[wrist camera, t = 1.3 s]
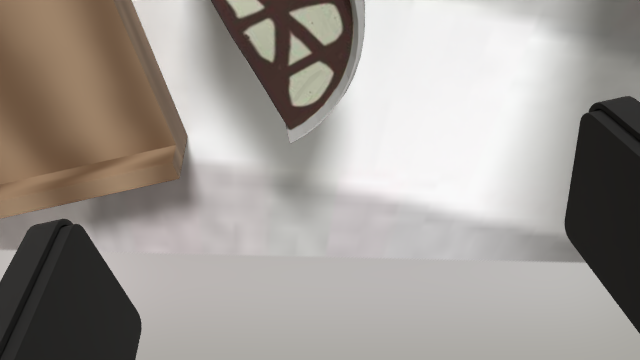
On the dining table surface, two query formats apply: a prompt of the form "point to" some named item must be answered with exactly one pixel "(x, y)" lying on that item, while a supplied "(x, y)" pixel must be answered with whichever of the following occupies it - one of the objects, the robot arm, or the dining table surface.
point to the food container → (299, 52)
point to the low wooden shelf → (80, 105)
